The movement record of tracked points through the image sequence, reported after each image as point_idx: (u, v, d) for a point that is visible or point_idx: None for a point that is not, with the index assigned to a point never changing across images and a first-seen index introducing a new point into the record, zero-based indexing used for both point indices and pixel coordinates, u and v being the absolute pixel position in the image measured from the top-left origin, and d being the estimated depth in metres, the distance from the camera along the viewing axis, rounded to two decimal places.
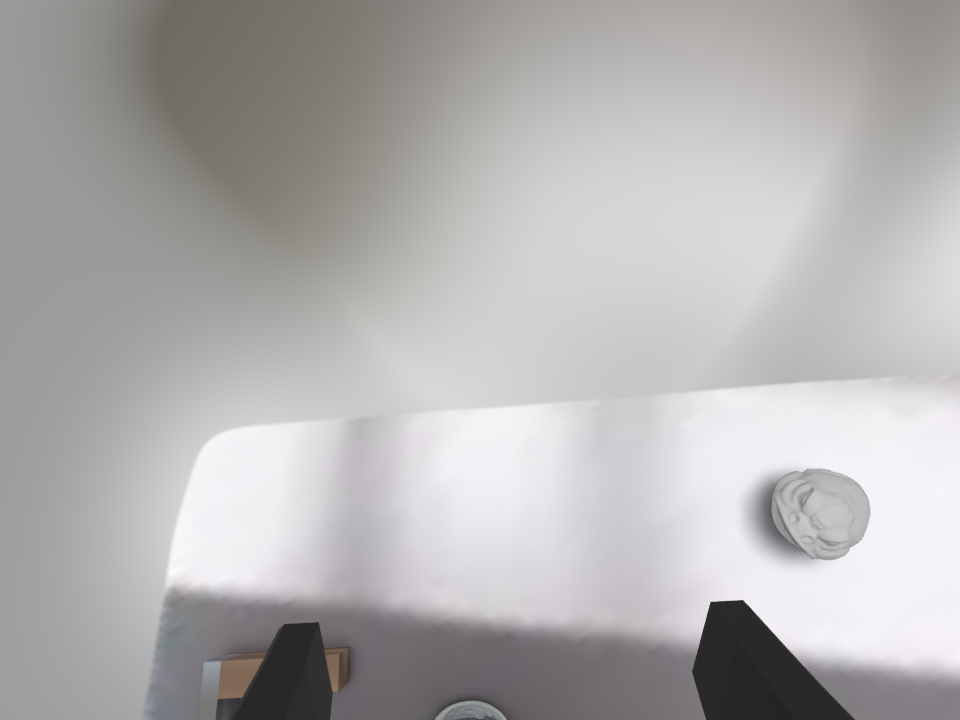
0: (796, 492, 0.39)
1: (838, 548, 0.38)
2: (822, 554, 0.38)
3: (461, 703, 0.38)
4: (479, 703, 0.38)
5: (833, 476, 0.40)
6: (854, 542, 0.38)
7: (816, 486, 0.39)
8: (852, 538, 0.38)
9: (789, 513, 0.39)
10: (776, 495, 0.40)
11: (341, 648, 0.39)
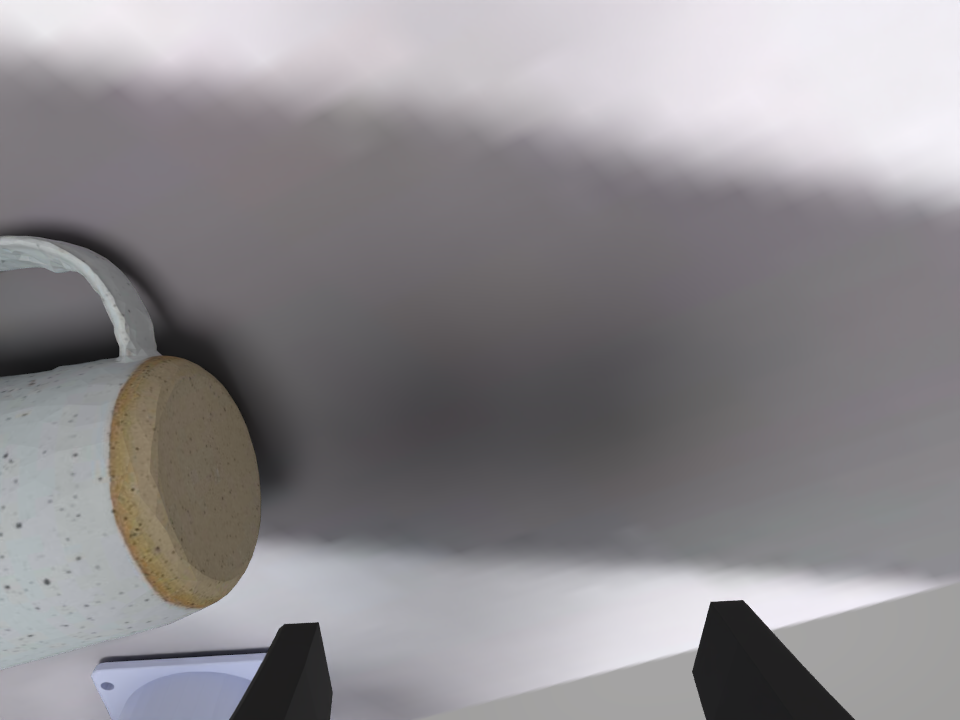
0: None
1: None
2: None
3: None
4: (34, 243, 0.15)
5: None
6: None
7: None
8: None
9: None
10: None
11: None
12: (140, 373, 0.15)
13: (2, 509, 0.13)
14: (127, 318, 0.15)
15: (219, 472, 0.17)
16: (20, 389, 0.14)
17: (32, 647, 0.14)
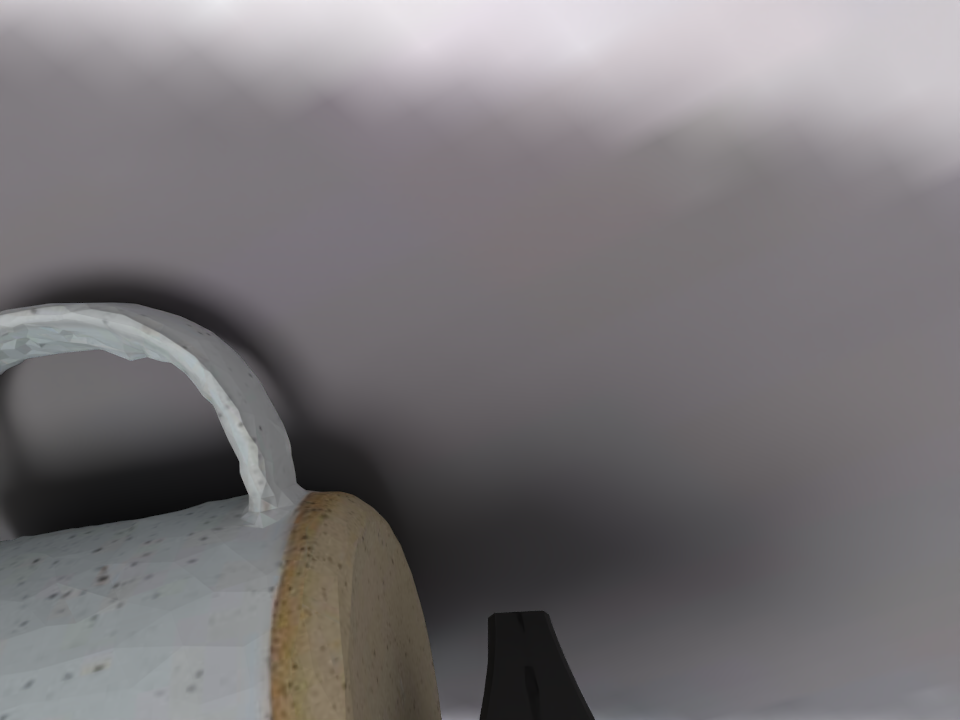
0: None
1: None
2: None
3: (17, 317, 0.08)
4: (98, 318, 0.08)
5: None
6: None
7: None
8: None
9: None
10: None
11: None
12: (298, 556, 0.08)
13: None
14: (260, 444, 0.09)
15: (402, 681, 0.10)
16: (83, 592, 0.08)
17: None
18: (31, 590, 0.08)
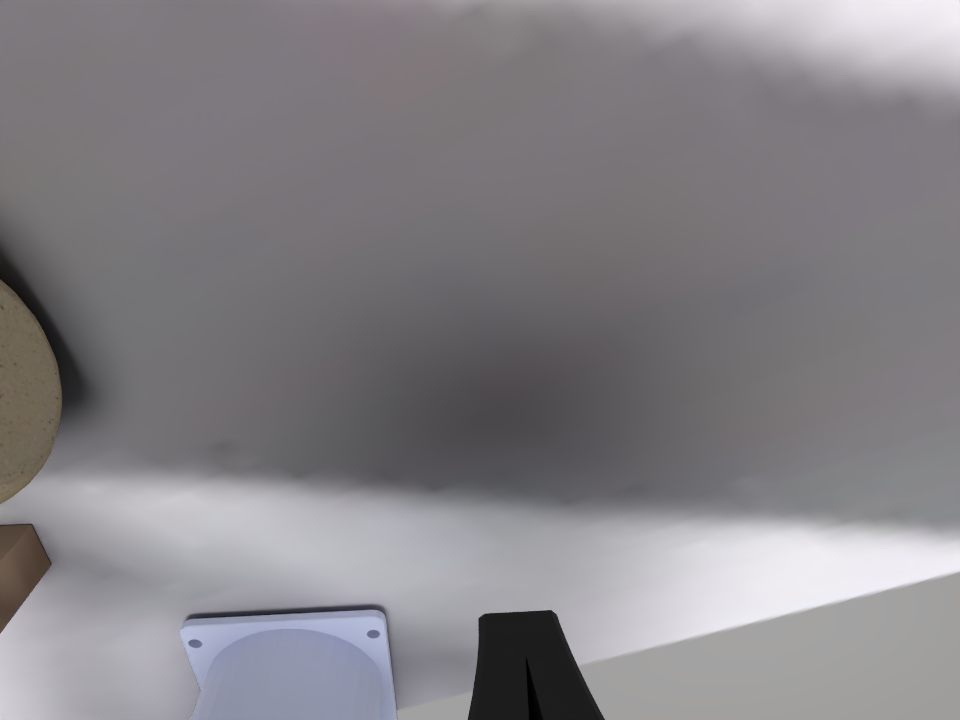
0: None
1: None
2: None
3: None
4: None
5: None
6: None
7: None
8: None
9: None
10: None
11: None
12: None
13: None
14: None
15: None
16: None
17: None
18: None
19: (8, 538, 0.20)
